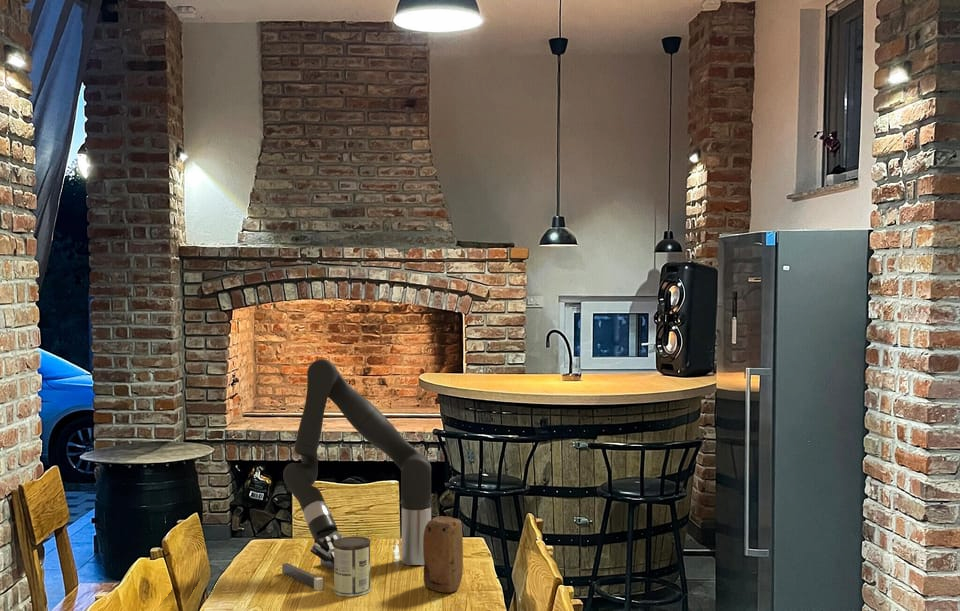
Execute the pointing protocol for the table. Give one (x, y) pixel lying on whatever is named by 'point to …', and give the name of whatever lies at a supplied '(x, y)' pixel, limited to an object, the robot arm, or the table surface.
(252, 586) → the table surface
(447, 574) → the block
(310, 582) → the grey parallel rails
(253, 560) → the table surface
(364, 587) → the coffee can
